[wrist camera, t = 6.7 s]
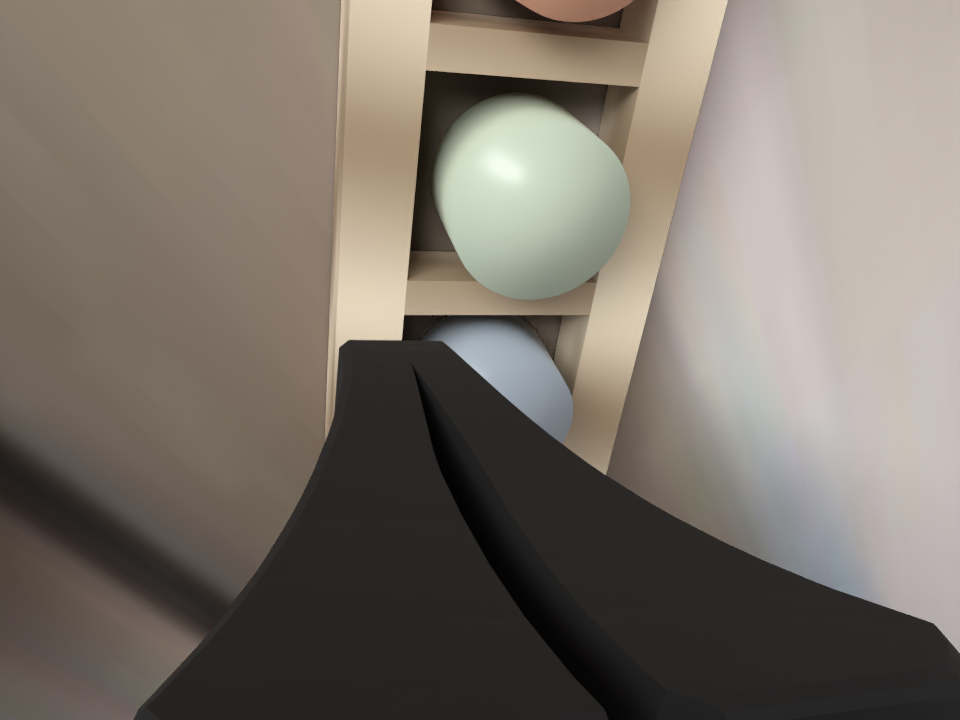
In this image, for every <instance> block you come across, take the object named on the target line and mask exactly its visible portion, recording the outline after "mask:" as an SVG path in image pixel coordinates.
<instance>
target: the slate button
mask: <svg viewBox="0 0 960 720" xmlns="http://www.w3.org/2000/svg"><path fill="white" fill-rule="evenodd" d="M419 341H443V342H444V343H445V344H446V345H448V346H449V347H450V348H451V349H452V350H453V351H455V352H456V353H457V354H458V355H459V356H460V357H461V358H462V359H463V360H465V361H466V362H467V363H468V364H469V365H470V366H471V367H472V368H473V369H474V370H476V371H477V372H478V373H479V374H480V375H481V376H482V377H483V378H484V379H485V380H487V381H488V382H489V383H490V384H491V385H492V386H493V387H494V388H495V389H496V390H498V391H499V392H500V393H501V394H502V395H503V396H504V397H506V398H507V399H508V400H509V401H510V402H511V403H512V404H514V405H515V406H516V407H517V408H518V409H519V410H521V411H522V412H523V413H524V414H525V415H526V416H528V417H529V418H530V419H531V420H532V421H534V422H535V423H536V424H537V425H539V426H540V427H541V428H542V429H544V430H545V431H546V432H547V433H549V434H550V435H551V436H552V437H554V438H555V439H556V440H558V441H559V442H560V443H563V441H564V440H565V438H566V436H567V434H568V432H569V429H570V426H571V423H572V418H573V401H572V396H571V393H570V390H569V388H568V386H567V385H566V383H565V381H564V379H563V377H562V376H561V374H560V372H559V371H558V369H557V367H556V365H555V364H554V362H553V360H552V358H551V357H550V355H549V353H548V352H547V350H546V348H545V346H544V345H543V343H542V341H541V339H540V338H539V336H538V334H537V333H536V331H535V330H534V329H533V327H532V326H531V325H530V324H529V323H528V322H527V321H525V320H524V319H522V318H521V317H520V316H518V315H450V316H448V317H446V318H445V319H443V320H441V321H439V322H438V323H437V324H435V325H434V326H433V327H431V328H430V329H429V330H428V331H427V332H426V333H425V334H424V335H423V336H422V338H421V339H420V340H419Z"/></svg>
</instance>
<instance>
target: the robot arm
mask: <svg viewBox="0 0 960 720" xmlns="http://www.w3.org/2000/svg"><path fill="white" fill-rule="evenodd" d="M134 720H960V653H959V652H958V651H957V650H956V649H955V647H954V646H953V645H952V644H951V643H950V642H949V640H948V639H947V638H946V637H945V636H944V635H943V634H942V632H941V631H940V630H939V629H938V628H937V627H936V626H935V625H934V624H933V623H930V622H927V621H925V620H922V619H919V618H916V617H913V616H910V615H907V614H904V613H901V612H898V611H895V610H893V609H890V608H887V607H884V606H881V605H878V604H875V603H872V602H869V601H866V600H863V599H861V598H858V597H855V596H852V595H849V594H846V593H843V592H840V591H837V590H834V589H831V588H829V587H826V586H824V585H821V584H819V583H816V582H814V581H811V580H809V579H806V578H804V577H802V576H799V575H797V574H794V573H792V572H790V571H787V570H785V569H782V568H780V567H778V566H775V565H773V564H770V563H768V562H766V561H763V560H761V559H759V558H757V557H754V556H752V555H750V554H748V553H746V552H744V551H741V550H739V549H737V548H735V547H733V546H730V545H728V544H726V543H724V542H722V541H720V540H718V539H716V538H714V537H712V536H711V535H709V534H707V533H705V532H703V531H701V530H699V529H697V528H695V527H693V526H691V525H689V524H687V523H685V522H683V521H681V520H679V519H678V518H676V517H674V516H672V515H670V514H669V513H667V512H665V511H663V510H661V509H660V508H658V507H656V506H654V505H653V504H651V503H649V502H648V501H646V500H644V499H643V498H641V497H640V496H638V495H636V494H635V493H633V492H632V491H630V490H628V489H627V488H625V487H624V486H622V485H620V484H619V483H617V482H616V481H614V480H612V479H611V478H609V477H608V476H606V475H605V474H603V473H602V472H600V471H599V470H597V469H596V468H594V467H593V466H591V465H590V464H589V463H587V462H586V461H584V460H583V459H582V458H580V457H579V456H578V455H576V454H575V453H574V452H572V451H571V450H570V449H568V448H567V447H566V446H564V445H563V444H562V443H560V442H559V441H558V440H556V439H555V438H554V437H552V436H551V435H550V434H549V433H547V432H546V431H545V430H544V429H542V428H541V427H540V426H539V425H537V424H536V423H535V422H534V421H532V420H531V419H530V418H529V417H528V416H526V415H525V414H524V413H523V412H522V411H521V410H519V409H518V408H517V407H516V406H515V405H514V404H512V403H511V402H510V401H509V400H508V399H507V398H506V397H504V396H503V395H502V394H501V393H500V392H499V391H498V390H496V389H495V388H494V387H493V386H492V385H491V384H490V383H489V382H488V381H487V380H485V379H484V378H483V377H482V376H481V375H480V374H479V373H478V372H477V371H476V370H474V369H473V368H472V367H471V366H470V365H469V364H468V363H467V362H466V361H465V360H463V359H462V358H461V357H460V356H459V355H458V354H457V353H456V352H455V351H453V350H452V349H451V348H450V347H449V346H448V345H446V344H445V343H444V342H443V341H412V340H348V341H347V342H346V343H344V344H343V345H342V346H341V347H339V356H338V370H337V383H336V397H335V411H334V417H333V421H332V424H331V427H330V430H329V433H328V436H327V438H326V441H325V444H324V446H323V449H322V451H321V454H320V456H319V459H318V462H317V464H316V467H315V469H314V471H313V474H312V476H311V478H310V480H309V482H308V484H307V486H306V488H305V490H304V492H303V494H302V497H301V498H300V500H299V502H298V504H297V506H296V508H295V510H294V512H293V513H292V515H291V517H290V519H289V521H288V522H287V524H286V526H285V527H284V529H283V531H282V532H281V534H280V535H279V537H278V539H277V540H276V542H275V544H274V545H273V547H272V549H271V550H270V552H269V553H268V555H267V557H266V558H265V560H264V561H263V563H262V564H261V565H260V567H259V568H258V570H257V571H256V573H255V574H254V576H253V577H252V579H251V580H250V581H249V582H248V584H247V585H246V586H245V588H244V589H243V590H242V592H241V593H240V594H239V595H238V597H237V598H236V599H235V601H234V602H233V603H232V604H231V606H230V607H229V608H228V610H227V611H226V612H225V614H224V615H223V616H222V617H221V619H220V620H219V621H218V623H217V624H216V625H215V626H214V628H213V629H212V630H211V631H210V633H209V634H208V635H207V636H206V637H205V638H204V640H203V641H202V642H201V643H200V644H199V646H198V647H197V648H196V649H195V650H194V651H193V652H192V653H191V654H190V655H189V656H188V657H187V658H186V659H185V661H184V662H183V663H182V664H181V665H180V666H179V667H178V668H177V669H176V670H175V671H174V672H173V673H172V674H171V676H170V677H169V678H168V679H167V680H166V681H165V682H164V683H163V684H162V685H161V686H160V687H159V688H158V689H157V690H156V692H155V693H154V694H153V695H152V696H151V697H150V698H149V699H148V700H147V701H146V702H145V703H144V704H143V705H142V706H141V707H140V709H139V710H138V712H137V714H136V716H135V718H134Z"/></svg>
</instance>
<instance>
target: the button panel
mask: <svg viewBox="0 0 960 720" xmlns="http://www.w3.org/2000/svg"><path fill="white" fill-rule="evenodd" d="M727 2H728V0H634V1H633V2H631V3H630V4H629V5H627V6H626V7H624V8H623V13H622V18H621V24H620V28H612V27H602V26H591V25H581V24H571V23H561V22H550V21H540V20H530V19H520V18H510V17H499V16H489V15H479V14H469V13H458V12H448V11H438V10H431V7H432V0H341V24H340V51H339V77H338V104H337V131H336V157H335V184H334V210H333V237H332V264H331V290H330V317H329V343H328V370H327V397H326V423H325V441H326V438H327V436H328V433H329V430H330V427H331V424H332V421H333V417H334V411H335V397H336V383H337V370H338V356H339V347H341V346H342V345H343V344H344V343H346V342H347V341H348V340H402V332H403V321H404V315H563V316H562V321H561V326H560V331H559V336H558V341H557V346H556V351H555V356H554V361H553V362H554V364H555V365H556V367H557V369H558V371H559V372H560V374H561V376H562V377H563V379H564V381H565V383H566V385H567V386H568V388H569V390H570V393H571V396H572V401H573V418H572V423H571V426H570V429H569V432H568V434H567V436H566V438H565V440H564V441H563V443H562V444H563V445H564V446H566V447H567V448H568V449H570V450H571V451H572V452H574V453H575V454H576V455H578V456H579V457H580V458H582V459H583V460H584V461H586V462H587V463H589V464H590V465H591V466H593V467H594V468H596V469H597V470H599V471H600V472H602V473H603V474H605V475H606V473H607V469H608V465H609V461H610V457H611V453H612V450H613V446H614V442H615V438H616V434H617V430H618V426H619V422H620V418H621V415H622V411H623V407H624V403H625V399H626V395H627V391H628V387H629V383H630V380H631V376H632V372H633V368H634V364H635V360H636V356H637V352H638V348H639V344H640V341H641V337H642V333H643V329H644V325H645V321H646V317H647V313H648V309H649V306H650V302H651V298H652V294H653V290H654V286H655V282H656V278H657V274H658V271H659V267H660V263H661V259H662V255H663V251H664V247H665V243H666V239H667V235H668V232H669V228H670V224H671V220H672V216H673V212H674V208H675V204H676V200H677V197H678V193H679V189H680V185H681V181H682V177H683V173H684V169H685V165H686V161H687V158H688V154H689V150H690V146H691V142H692V138H693V134H694V130H695V126H696V123H697V119H698V115H699V111H700V107H701V103H702V99H703V95H704V91H705V88H706V84H707V80H708V76H709V72H710V68H711V64H712V60H713V56H714V52H715V49H716V45H717V41H718V37H719V33H720V29H721V25H722V21H723V17H724V14H725V10H726V6H727ZM426 70H429V71H442V72H454V73H467V74H480V75H493V76H505V77H518V78H531V79H544V80H556V81H569V82H582V83H595V84H608V89H607V94H606V99H605V104H604V109H603V114H602V119H601V124H600V129H599V134H598V138H599V139H601V140H602V141H603V142H604V143H605V144H606V145H607V146H608V147H610V148H611V150H612V151H613V152H614V153H615V155H616V156H617V157H618V159H619V161H620V162H621V164H622V166H623V168H624V170H625V173H626V175H627V179H628V183H629V188H630V213H629V219H628V223H627V226H626V230H625V232H624V235H623V237H622V239H621V242H620V243H619V245H618V247H617V249H616V251H615V252H614V254H613V255H612V256H611V258H610V259H609V260H608V262H607V263H606V264H605V265H604V266H603V267H602V268H601V269H600V270H599V271H598V272H597V273H596V274H595V275H594V276H592V277H591V278H590V279H589V280H587V281H586V282H584V283H583V284H581V285H580V286H578V287H576V288H574V289H572V290H570V291H568V292H565V293H563V294H560V295H557V296H554V297H550V298H544V299H535V300H523V299H515V298H510V297H506V296H503V295H500V294H497V293H495V292H493V291H491V290H489V289H487V288H486V287H485V286H483V285H482V284H480V283H479V282H478V281H477V280H476V279H475V278H474V277H473V276H472V275H471V274H470V273H469V272H468V270H467V269H466V268H465V266H464V264H463V263H462V261H461V259H460V257H459V255H458V253H457V252H441V251H410V242H411V231H412V220H413V209H414V198H415V186H416V175H417V164H418V153H419V141H420V130H421V119H422V108H423V96H424V85H425V74H426Z"/></svg>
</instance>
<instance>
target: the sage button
mask: <svg viewBox="0 0 960 720" xmlns="http://www.w3.org/2000/svg"><path fill="white" fill-rule="evenodd" d="M430 186H431V195H432V199H433V203H434V206H435V208H436V211H437V213H438V215H439V217H440V219H441V221H442V223H443V225H444V227H445V229H446V231H447V233H448V235H449V237H450V239H451V241H452V243H453V245H454V247H455V249H456V251H457V253H458V255H459V257H460V259H461V261H462V263H463V264H464V266H465V268H466V269H467V270H468V272H469V273H470V274H471V275H472V276H473V277H474V278H475V279H476V280H477V281H478V282H479V283H480V284H482V285H483V286H485V287H486V288H487V289H489V290H491V291H493V292H495V293H497V294H500V295H503V296H506V297H510V298H515V299H523V300H535V299H544V298H550V297H554V296H557V295H560V294H563V293H565V292H568V291H570V290H572V289H574V288H576V287H578V286H580V285H581V284H583V283H584V282H586V281H587V280H589V279H590V278H591V277H592V276H594V275H595V274H596V273H597V272H598V271H599V270H600V269H601V268H602V267H603V266H604V265H605V264H606V263H607V262H608V260H609V259H610V258H611V256H612V255H613V254H614V252H615V251H616V249H617V247H618V245H619V243H620V242H621V239H622V237H623V235H624V232H625V230H626V226H627V223H628V219H629V213H630V188H629V183H628V179H627V175H626V173H625V170H624V168H623V166H622V164H621V162H620V161H619V159H618V157H617V156H616V155H615V153H614V152H613V151H612V150H611V148H610V147H608V146H607V145H606V144H605V143H604V142H603V141H602V140H601V139H599V138H598V137H597V136H596V135H595V134H594V133H593V132H591V131H590V130H589V129H588V128H587V127H586V126H584V125H583V124H582V123H581V122H580V121H579V120H578V119H576V118H575V117H574V116H573V115H572V114H571V113H570V112H568V111H567V110H566V109H565V108H564V107H562V106H561V105H559V104H558V103H556V102H555V101H553V100H551V99H548V98H546V97H543V96H540V95H537V94H532V93H525V92H513V93H505V94H500V95H496V96H493V97H490V98H488V99H485V100H483V101H481V102H479V103H477V104H475V105H474V106H472V107H470V108H469V109H468V110H466V111H465V112H464V113H462V114H461V115H460V116H459V117H458V118H457V119H456V120H455V121H454V122H453V123H452V125H451V126H450V127H449V128H448V130H447V131H446V132H445V134H444V136H443V137H442V139H441V141H440V143H439V145H438V147H437V149H436V152H435V155H434V158H433V162H432V167H431V175H430Z"/></svg>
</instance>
